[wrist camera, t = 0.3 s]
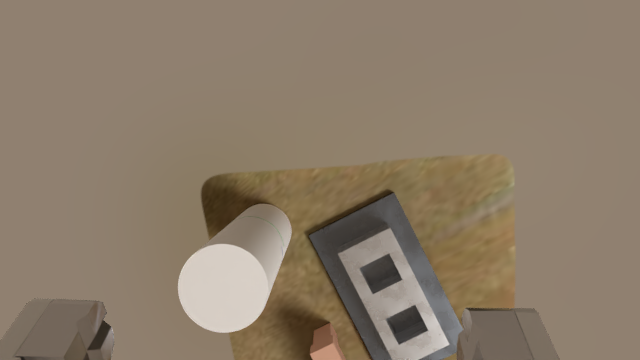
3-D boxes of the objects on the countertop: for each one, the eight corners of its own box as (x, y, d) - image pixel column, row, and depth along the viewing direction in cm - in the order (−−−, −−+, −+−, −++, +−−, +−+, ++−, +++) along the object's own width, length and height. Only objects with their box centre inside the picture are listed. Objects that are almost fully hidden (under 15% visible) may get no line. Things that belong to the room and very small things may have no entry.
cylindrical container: (234, 257, 65) (176, 330, 40) (236, 202, 65) (179, 241, 40) (290, 260, 65) (266, 335, 40) (292, 205, 65) (270, 246, 40)
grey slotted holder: (469, 342, 66) (479, 357, 61) (386, 383, 66) (390, 399, 62) (393, 192, 64) (397, 195, 60) (309, 234, 65) (307, 241, 60)
